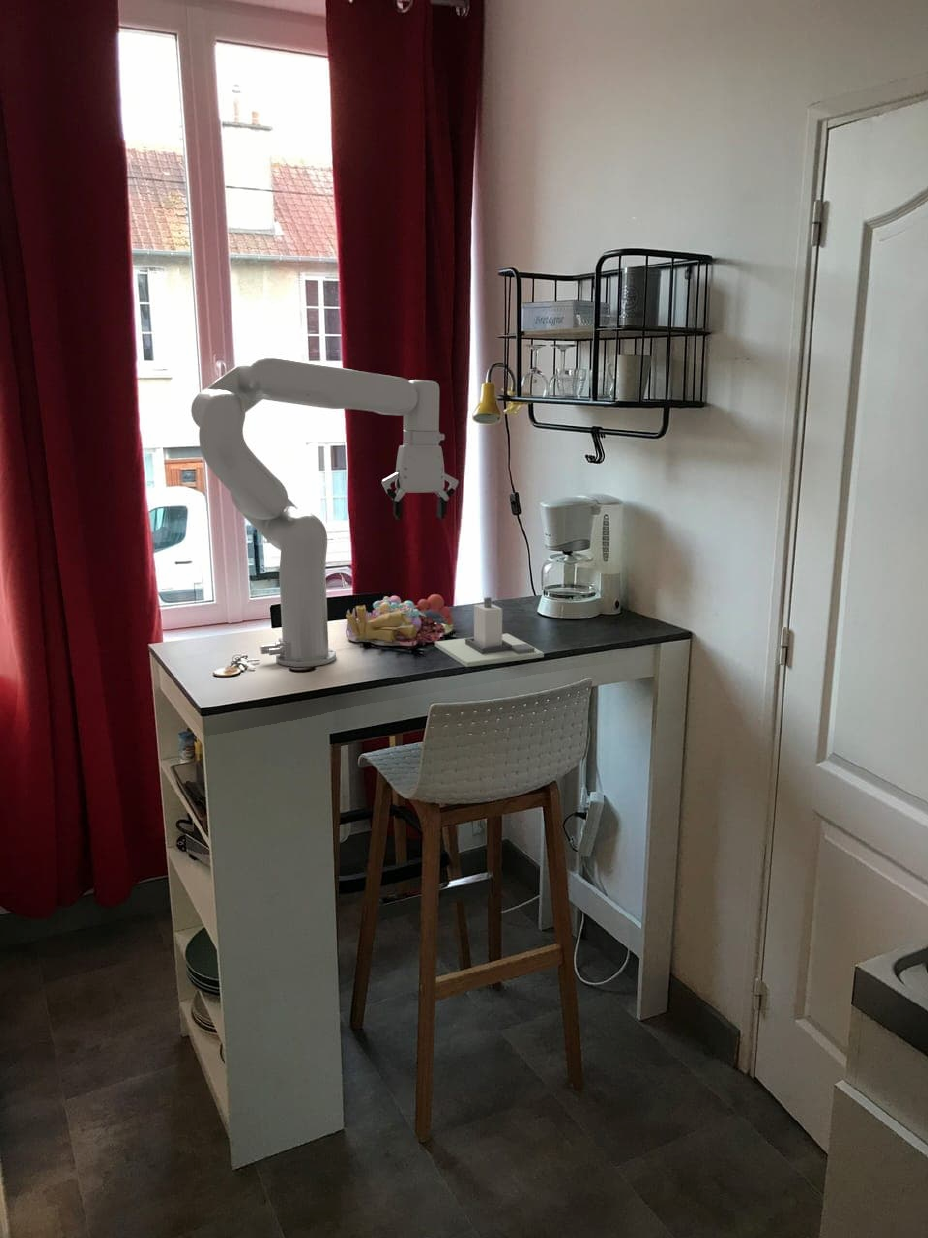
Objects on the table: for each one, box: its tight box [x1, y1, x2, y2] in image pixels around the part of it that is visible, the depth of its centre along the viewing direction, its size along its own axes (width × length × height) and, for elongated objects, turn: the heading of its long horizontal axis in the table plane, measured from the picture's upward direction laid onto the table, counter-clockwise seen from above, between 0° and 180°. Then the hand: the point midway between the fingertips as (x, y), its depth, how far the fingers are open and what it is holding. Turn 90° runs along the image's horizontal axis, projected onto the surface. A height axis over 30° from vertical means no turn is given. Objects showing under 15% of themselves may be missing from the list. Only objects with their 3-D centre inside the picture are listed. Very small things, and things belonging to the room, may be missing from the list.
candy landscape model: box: [345, 593, 454, 647], centre depth 227 cm, size 25×24×9 cm
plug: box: [473, 596, 503, 647], centre depth 211 cm, size 6×4×11 cm, turn 23°
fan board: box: [434, 633, 545, 668], centre depth 212 cm, size 18×18×2 cm
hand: (419, 518), depth 213 cm, fingers open, 9 cm apart
